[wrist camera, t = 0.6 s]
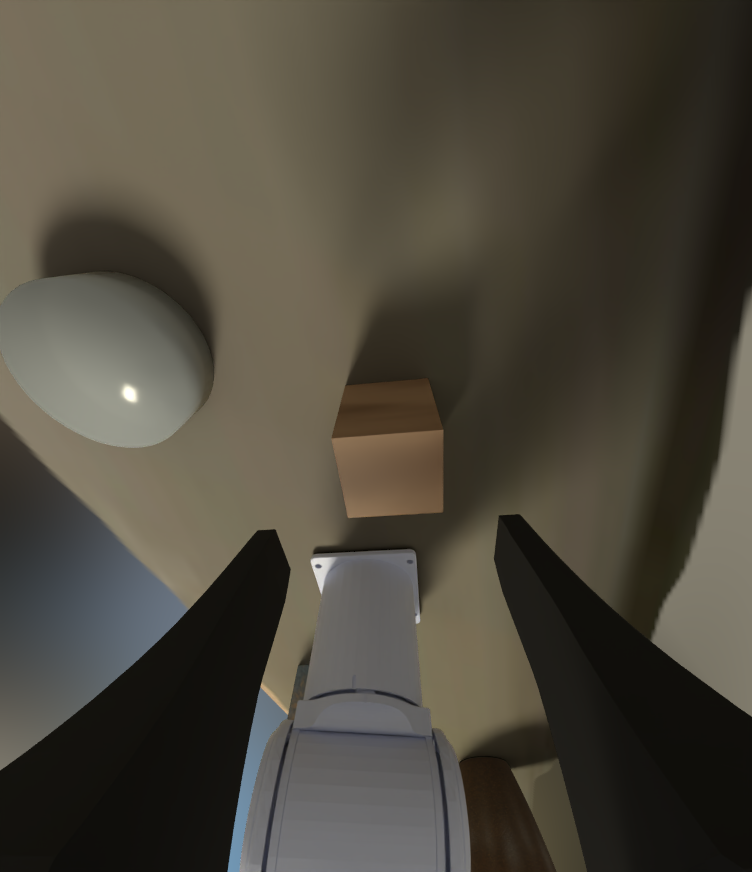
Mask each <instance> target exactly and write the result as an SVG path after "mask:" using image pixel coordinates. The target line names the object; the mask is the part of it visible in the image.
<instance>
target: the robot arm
mask: <svg viewBox="0 0 752 872" xmlns="http://www.w3.org/2000/svg"><path fill="white" fill-rule="evenodd" d="M494 561H495V565H496V569H497V573H498V577H499V580H500V584H501V588H502V592H503V594H504V597H505V600H506V602H507V605H508V608H509V610H510V613H511V616H512V618H513V621H514V624H515V626H516V629H517V631H518V634H519V637H520V639H521V642H522V645H523V647H524V650H525V652H526V655H527V658H528V660H529V663H530V666H531V668H532V671H533V674H534V677H535V680H536V683H537V686H538V689H539V692H540V696H541V699H542V702H543V706H544V709H545V713H546V716H547V720H548V723H549V727H550V730H551V734H552V737H553V741H554V745H555V748H556V752H557V756H558V759H559V763H560V766H561V770H562V774H563V777H564V781H565V785H566V789H567V793H568V796H569V800H570V804H571V808H572V812H573V816H574V819H575V824H576V827H577V831H578V835H579V839H580V844H581V848H582V852H583V856H584V860H585V864H586V868H587V872H752V717H751V716H750V715H748V714H747V713H745V712H744V711H742V710H741V709H740V708H738V707H737V706H735V705H734V704H733V703H731V702H730V701H729V700H727V699H726V698H725V697H723V696H722V695H720V694H719V693H718V692H716V691H715V690H714V689H712V688H711V687H710V686H708V685H707V684H705V683H704V682H703V681H701V680H700V679H698V678H697V677H696V676H695V675H693V674H692V673H691V672H689V671H688V670H687V669H685V668H684V667H682V666H681V665H680V664H678V663H677V662H676V661H675V660H673V659H672V658H671V657H670V656H668V655H667V654H666V653H665V652H663V651H662V650H661V649H660V648H658V647H657V646H656V645H655V644H653V643H652V642H651V641H650V640H648V639H647V638H646V637H645V636H644V635H642V634H641V633H640V632H639V631H638V630H636V629H635V628H634V627H633V626H632V625H630V624H629V623H628V622H627V621H626V620H625V619H623V618H622V617H621V616H620V615H619V614H618V613H617V612H615V611H614V610H613V609H612V608H611V607H610V606H609V605H608V604H607V603H605V602H604V601H603V600H602V599H601V598H600V597H599V596H598V595H597V594H596V593H595V592H594V591H593V590H591V589H590V588H589V587H588V586H587V585H586V584H585V583H584V582H583V581H582V580H581V579H580V578H579V577H578V576H577V575H576V574H575V573H574V572H573V571H572V570H571V569H570V568H569V567H568V566H567V565H566V564H565V563H564V562H563V561H562V560H561V559H560V558H559V557H558V556H557V555H556V554H555V553H554V551H553V550H552V549H551V548H550V547H549V546H548V545H547V544H546V543H545V542H544V541H543V540H542V539H541V537H540V536H539V535H538V534H537V533H536V532H535V531H534V530H533V529H532V527H531V526H530V525H529V524H528V523H527V522H526V521H525V520H524V518H523V517H522V516H521V515H519V514H516V515H500V516H499V520H498V529H497V537H496V546H495V555H494ZM311 564H312V567H313V571H314V574H315V577H316V580H317V583H318V586H319V589H320V592H321V595H322V596H321V602H320V608H319V613H318V619H317V625H316V630H315V636H314V642H313V647H312V653H311V659H310V665H309V670H308V676H307V682H306V687H305V693H304V699H303V700H299V701H298V702H297V707H296V712H295V718H294V720H284V721H282V722H281V724H280V726H279V727H278V728H277V729H276V731H274V732H273V733H272V735H271V736H270V738H269V740H268V742H267V745H266V747H265V750H264V753H263V756H262V759H261V763H260V766H259V770H258V774H257V777H256V782H255V786H254V790H253V794H252V799H251V804H250V808H249V813H248V818H247V823H246V828H245V834H244V841H243V847H242V854H241V863H240V872H471V854H470V836H469V824H468V814H467V806H466V799H465V792H464V786H463V781H462V776H461V771H460V767H459V763H458V760H457V756H456V753H455V751H454V749H453V747H452V745H451V744H450V743H449V741H448V740H447V739H446V736H445V735H444V733H443V732H442V730H440V729H437V728H432V726H431V716H430V709H429V708H424V707H423V706H422V693H421V680H420V668H419V655H418V642H417V630H416V624H417V623H419V622H420V609H419V593H418V577H417V561H416V552H415V551H414V550H412V549H401V550H381V551H362V552H342V553H323V554H314V555H312V557H311ZM290 570H291V569H290V567H289V564H288V561H287V559H286V556H285V553H284V551H283V548H282V546H281V543H280V540H279V538H278V535H277V532H276V530H275V529H273V530H258V531H257V532H256V533H255V534H254V535H253V536H252V538H251V539H250V540H249V541H248V542H247V543H246V545H245V546H244V547H243V548H242V549H241V551H240V552H239V553H238V554H237V555H236V557H235V558H234V559H233V560H232V561H231V563H230V564H229V565H228V566H227V567H226V569H225V570H224V571H223V572H222V573H221V574H220V576H219V577H218V578H217V579H216V580H215V581H214V582H213V584H212V585H211V586H210V587H209V588H208V589H207V591H206V592H205V593H204V594H203V595H202V596H201V597H200V598H199V599H198V600H197V601H196V603H195V604H194V605H193V606H192V607H191V608H190V609H189V610H188V611H187V612H186V613H185V614H184V616H183V617H182V618H181V619H180V620H179V621H178V622H177V623H176V624H175V625H174V626H173V627H172V628H171V629H170V630H169V631H168V632H167V633H166V634H165V635H164V636H163V637H162V638H161V639H160V640H159V641H158V642H157V643H156V644H155V645H154V646H153V647H152V648H150V649H149V650H148V651H147V652H146V653H145V654H144V655H143V656H142V657H141V658H140V659H139V660H138V661H136V662H135V663H134V664H133V665H132V666H131V667H130V668H129V669H128V670H126V671H125V672H124V673H123V674H122V675H120V676H119V677H118V678H117V679H116V680H115V681H114V682H112V683H111V684H110V685H109V686H108V687H107V688H106V689H104V690H103V691H102V692H101V693H100V694H99V695H97V696H96V697H95V698H94V699H93V700H91V701H90V702H89V703H88V704H87V705H85V706H84V707H83V708H82V709H80V710H79V711H78V712H77V713H76V714H74V715H73V716H72V717H71V718H69V719H68V720H67V721H66V722H64V723H63V724H62V725H60V726H59V727H58V728H57V729H55V730H54V731H53V732H51V733H50V734H49V735H48V736H46V737H45V738H44V739H43V740H41V741H40V742H38V743H37V744H36V745H35V746H33V747H32V748H31V749H29V750H28V751H27V752H26V753H24V754H23V755H21V756H20V757H18V758H17V759H16V760H14V761H13V762H12V763H10V764H9V765H8V766H6V767H5V768H3V769H2V770H1V771H0V872H227V870H228V863H229V856H230V849H231V843H232V836H233V829H234V822H235V816H236V810H237V804H238V798H239V792H240V786H241V780H242V774H243V769H244V764H245V758H246V753H247V747H248V742H249V737H250V732H251V727H252V722H253V717H254V713H255V708H256V703H257V698H258V694H259V690H260V686H261V682H262V678H263V675H264V671H265V668H266V665H267V661H268V658H269V654H270V651H271V648H272V644H273V641H274V638H275V634H276V631H277V628H278V624H279V621H280V617H281V614H282V610H283V607H284V603H285V599H286V594H287V588H288V582H289V576H290Z"/></svg>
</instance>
